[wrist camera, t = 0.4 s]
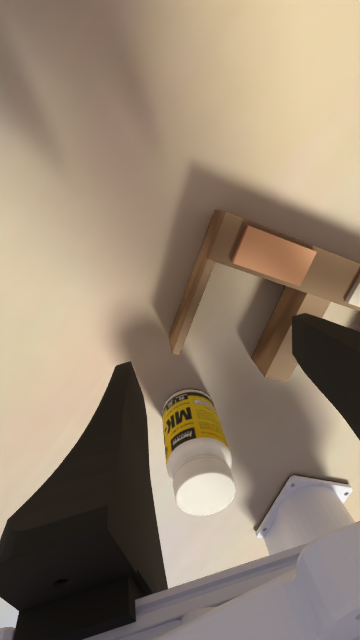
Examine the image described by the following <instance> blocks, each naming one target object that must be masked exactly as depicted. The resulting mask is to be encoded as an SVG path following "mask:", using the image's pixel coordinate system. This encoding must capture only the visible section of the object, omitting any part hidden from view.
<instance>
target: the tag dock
mask: <svg viewBox="0 0 360 640" xmlns="http://www.w3.org/2000/svg"><path fill="white" fill-rule="evenodd" d="M215 262H218V263H221V264H224V265H227V266H230V267H232V268H235V269H238V270H241V271H244V272H247V273H250V274H253V275H256V276H259V277H262V278H264V279H267V280H270V281H273V282H276V283H279V284H282V285H285V289H284V291H283V293H282V295H281V297H280V299H279V301H278V303H277V305H276V307H275V309H274V312H273V314H272V316H271V318H270V320H269V322H268V324H267V326H266V328H265V330H264V332H263V335H262V337H261V339H260V341H259V343H258V345H257V347H256V349H255V351H254V353H253V355H252V360H253V361H254V363H255V364H256V365H257V367H258V368H259V370H260V371H261V373H262V374H263V375H264V377H266V378H270V379H274V380H278V381H282V382H286V383H287V382H288V380H289V378H290V376H291V374H292V373H293V371H294V369H295V367H296V365H297V363H298V362H297V361H296V359H295V357H294V356H293V354H292V316H295V315H299V314H302V313H307V314H311V315H314V316H317V317H319V318H322V317H323V315H324V313H325V311H326V310H327V308H328V306H329V304H330V302H334V303H337V304H340V305H343V306H346V307H349V308H352V309H355V310H358V311H360V264H359V263H357V262H354V261H352V260H349V259H347V258H344V257H341V256H339V255H336V254H334V253H331V252H329V251H326V250H323V249H321V248H318V247H316V246H313V245H311V244H308V243H305V242H303V241H300V240H298V239H295V238H293V237H290V236H287V235H285V234H282V233H280V232H277V231H275V230H272V229H270V228H267V227H264V226H262V225H259V224H257V223H254V222H252V221H249V220H246V219H244V218H241V217H239V216H236V215H234V214H231V213H228V212H225V211H218V210H215V211H214V213H213V216H212V219H211V222H210V224H209V227H208V230H207V233H206V235H205V238H204V241H203V243H202V246H201V249H200V252H199V254H198V257H197V260H196V263H195V265H194V268H193V271H192V274H191V276H190V279H189V282H188V284H187V287H186V290H185V293H184V295H183V298H182V301H181V304H180V306H179V309H178V312H177V315H176V317H175V320H174V323H173V326H172V328H171V331H170V334H169V339H170V344H171V349H172V354H176V355H179V354H180V352H181V349H182V346H183V344H184V341H185V339H186V336H187V333H188V331H189V328H190V326H191V323H192V321H193V318H194V315H195V313H196V310H197V308H198V305H199V302H200V300H201V297H202V295H203V292H204V290H205V287H206V284H207V282H208V279H209V277H210V274H211V271H212V269H213V266H214V264H215Z"/></svg>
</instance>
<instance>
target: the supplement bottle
mask: <svg viewBox="0 0 360 640" xmlns="http://www.w3.org/2000/svg"><path fill="white" fill-rule="evenodd" d="M162 420H163V432H164V444H165V454H166V466H167V472H168V475H169V477H170V479H171V480H172V482H173V488H174V493H175V499H176V503H177V505H178V506H179V508H180V509H181V510H183V511H184V512H186V513H189V514H192V515H209V514H213V513H216V512H218V511H220V510H222V509H223V508H225V507H226V506H227V505H228V504H229V503H230V502H231V501H232V499H233V498H234V495H235V490H236V488H235V483H234V479H233V476H232V473H231V470H230V468H231V463H232V458H231V453H230V450H229V447H228V444H227V441H226V438H225V435H224V433H223V430H222V427H221V424H220V421H219V418H218V415H217V412H216V409H215V406H214V404H213V401H212V400H211V398H210V397H209V396H208V395H207V394H205V393H203V392H201V391H198V390H193V389H188V390H182V391H179V392H177V393H175V394H173V395H172V396H171V397H170V398H169V399H168V400H167V401H166V403H165V405H164V407H163V411H162Z"/></svg>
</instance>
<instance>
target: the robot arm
mask: <svg viewBox="0 0 360 640" xmlns="http://www.w3.org/2000/svg"><path fill="white" fill-rule="evenodd" d="M292 354H293V356H294V357H295V359H296V361H297V362H298V364H299V365H300V367H301V368H302V370H303V371H304V372H305V374H306V375H307V376H308V377H309V378H310V379H311V381H312V382H313V383H314V384H315V385H316V386H317V387H318V389H319V390H320V391H321V392H322V393H323V394H324V395H325V397H326V398H327V399H328V400H329V401H330V402H331V403H332V404H333V406H334V407H335V408H336V409H337V410H338V411H339V413H340V414H341V415H342V416H343V418H344V419H345V420H346V422H347V423H348V424H349V426H350V427H351V429H352V430H353V431H354V433H355V434H356V436H357V437H358V438H359V440H360V332H359V331H356V330H353V329H350V328H347V327H344V326H341V325H339V324H336V323H333V322H330V321H328V320H325V319H322V318H319V317H317V316H314V315H311V314H307V313H302V314H299V315H295V316H292ZM352 490H353V488H352V487H351V486H350V485H348V484H342V483H336V482H330V481H325V480H319V479H313V478H307V477H301V476H296V475H293V476H291V477H290V478H289V479H288V481H287V483H286V484H285V486H284V488H283V489H282V491H281V492H280V494H279V496H278V497H277V499H276V501H275V502H274V504H273V505H272V507H271V509H270V510H269V512H268V513H267V515H266V517H265V518H264V520H263V522H262V523H261V525H260V526H259V528H258V530H257V531H256V535H257V537H258V538H263V539H264V540H265V543H266V546H267V549H268V551H269V554H270V556H266V557H263V558H260V559H257V560H254V561H251V562H248V563H245V564H242V565H239V566H236V567H233V568H230V569H227V570H224V571H221V572H218V573H215V574H212V575H209V576H206V577H203V578H200V579H197V580H194V581H191V582H188V583H185V584H182V585H179V586H176V587H172V588H169V589H168V586H167V580H166V575H165V569H164V563H163V558H162V551H161V545H160V539H159V533H158V527H157V520H156V514H155V507H154V501H153V494H152V487H151V480H150V469H149V449H148V428H147V415H146V408H145V403H144V397H143V394H142V391H141V388H140V386H139V383H138V380H137V377H136V375H135V372H134V369H133V366H132V364H131V361H130V362H127V363H123V364H120V365H117V366H116V367H115V369H114V372H113V374H112V377H111V379H110V382H109V384H108V387H107V389H106V391H105V393H104V395H103V398H102V400H101V402H100V404H99V406H98V408H97V410H96V412H95V413H94V415H93V417H92V419H91V421H90V423H89V424H88V426H87V428H86V429H85V431H84V432H83V434H82V436H81V437H80V439H79V440H78V442H77V443H76V444H75V446H74V447H73V449H72V450H71V451H70V453H69V454H68V455H67V456H66V458H65V459H64V460H63V462H62V463H61V464H60V465H59V467H58V468H57V469H56V470H55V471H54V473H53V474H52V475H51V476H50V477H49V478H48V479H47V481H46V482H45V483H44V484H43V485H42V486H41V487H40V488H39V489H38V490H37V491H36V492H35V493H34V494H33V495H32V496H31V497H30V498H29V499H28V500H27V501H26V502H25V503H24V504H23V505H22V506H21V507H20V508H19V509H18V510H17V511H16V512H15V513H14V514H13V515H12V516H11V517H10V518H9V519H8V520H7V523H6V526H5V528H4V531H3V534H2V536H1V540H0V597H1V598H2V599H4V600H5V601H6V602H8V603H9V604H10V605H12V606H13V607H15V608H16V609H17V610H19V615H18V619H17V624H16V628H13V627H5V628H0V640H360V521H359V522H356V523H355V521H354V520H353V518H352V517H351V515H350V514H349V512H348V511H347V509H346V508H345V506H344V505H343V503H344V502H345V500H346V499H347V497H348V496H349V495H350V493H351V492H352Z"/></svg>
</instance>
